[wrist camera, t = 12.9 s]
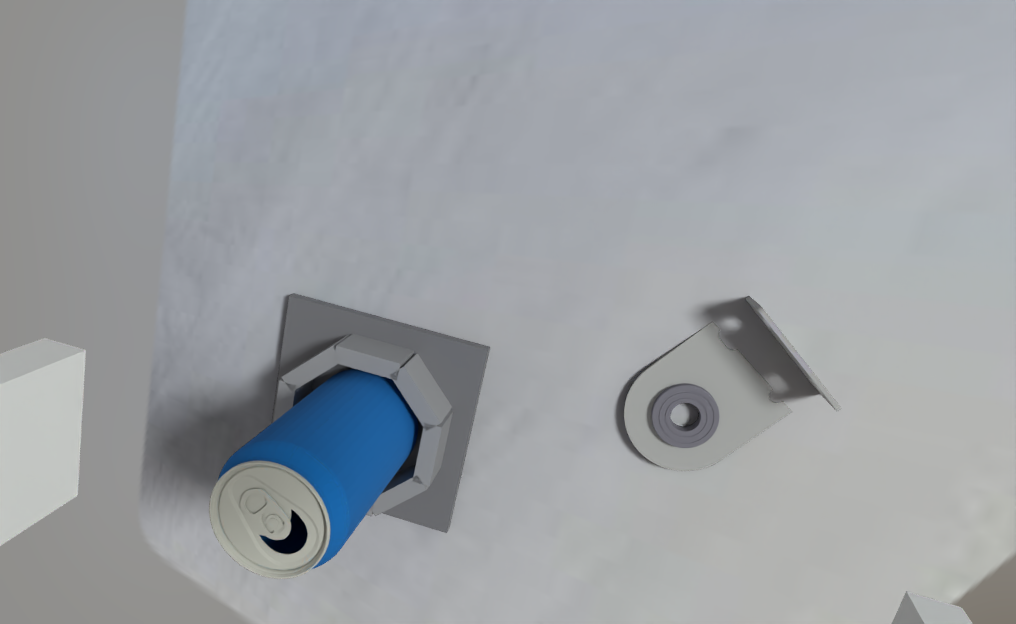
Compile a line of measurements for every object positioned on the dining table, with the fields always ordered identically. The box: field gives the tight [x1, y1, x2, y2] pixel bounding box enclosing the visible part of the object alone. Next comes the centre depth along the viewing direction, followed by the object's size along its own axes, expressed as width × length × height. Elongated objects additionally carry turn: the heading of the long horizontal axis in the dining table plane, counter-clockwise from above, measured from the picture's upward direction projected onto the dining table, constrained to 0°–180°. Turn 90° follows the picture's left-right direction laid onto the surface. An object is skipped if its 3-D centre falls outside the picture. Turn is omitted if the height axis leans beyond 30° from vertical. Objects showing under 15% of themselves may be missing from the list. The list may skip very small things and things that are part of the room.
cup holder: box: [271, 294, 490, 533], centre depth 42 cm, size 12×12×3 cm
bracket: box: [624, 296, 842, 471], centre depth 38 cm, size 7×10×4 cm, turn 130°
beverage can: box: [209, 369, 418, 579], centre depth 37 cm, size 6×6×12 cm
